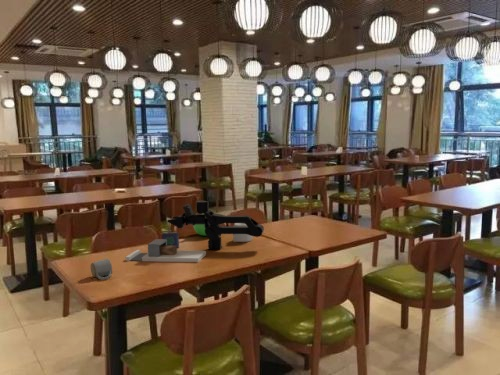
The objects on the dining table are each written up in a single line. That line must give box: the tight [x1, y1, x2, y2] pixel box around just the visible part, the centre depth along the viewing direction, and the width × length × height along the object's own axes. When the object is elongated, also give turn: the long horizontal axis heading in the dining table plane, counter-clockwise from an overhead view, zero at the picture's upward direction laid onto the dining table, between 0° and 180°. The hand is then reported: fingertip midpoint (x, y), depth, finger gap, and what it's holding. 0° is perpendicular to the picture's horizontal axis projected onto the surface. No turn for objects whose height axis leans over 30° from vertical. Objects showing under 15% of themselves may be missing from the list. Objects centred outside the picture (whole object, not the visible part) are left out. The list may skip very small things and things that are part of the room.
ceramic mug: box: [90, 257, 113, 281], centre depth 203 cm, size 11×8×8 cm
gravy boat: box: [192, 225, 208, 237], centre depth 279 cm, size 18×17×15 cm
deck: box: [125, 249, 207, 263], centre depth 232 cm, size 39×14×2 cm, turn 80°
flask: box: [161, 229, 180, 249], centre depth 250 cm, size 9×3×11 cm, turn 87°
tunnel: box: [147, 238, 167, 257], centre depth 232 cm, size 6×11×6 cm, turn 170°
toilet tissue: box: [232, 223, 254, 243], centre depth 263 cm, size 11×12×10 cm
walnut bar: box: [160, 245, 178, 255], centre depth 232 cm, size 14×4×4 cm, turn 80°
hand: (170, 219), depth 249 cm, fingers open, 9 cm apart
